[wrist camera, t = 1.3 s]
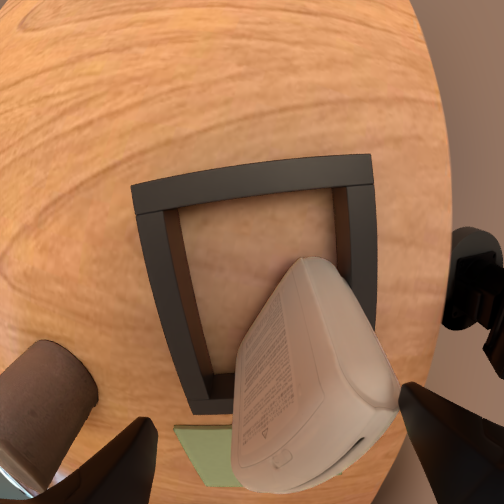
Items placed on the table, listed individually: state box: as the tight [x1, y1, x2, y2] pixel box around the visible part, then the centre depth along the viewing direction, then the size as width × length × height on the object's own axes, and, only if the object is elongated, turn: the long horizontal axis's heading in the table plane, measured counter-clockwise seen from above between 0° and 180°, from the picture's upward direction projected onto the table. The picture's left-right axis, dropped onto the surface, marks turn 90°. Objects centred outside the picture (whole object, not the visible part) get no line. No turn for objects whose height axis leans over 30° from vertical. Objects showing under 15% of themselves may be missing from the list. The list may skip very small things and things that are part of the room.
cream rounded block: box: [230, 257, 401, 494], centre depth 14 cm, size 10×4×12 cm, turn 153°
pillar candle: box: [0, 340, 98, 493], centre depth 16 cm, size 10×10×15 cm
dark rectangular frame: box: [131, 154, 377, 415], centre depth 18 cm, size 14×18×3 cm
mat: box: [173, 425, 342, 487], centre depth 25 cm, size 18×14×1 cm
